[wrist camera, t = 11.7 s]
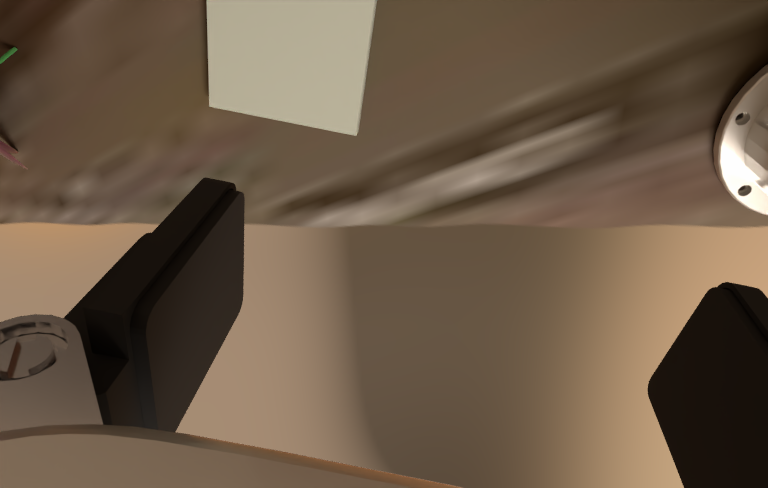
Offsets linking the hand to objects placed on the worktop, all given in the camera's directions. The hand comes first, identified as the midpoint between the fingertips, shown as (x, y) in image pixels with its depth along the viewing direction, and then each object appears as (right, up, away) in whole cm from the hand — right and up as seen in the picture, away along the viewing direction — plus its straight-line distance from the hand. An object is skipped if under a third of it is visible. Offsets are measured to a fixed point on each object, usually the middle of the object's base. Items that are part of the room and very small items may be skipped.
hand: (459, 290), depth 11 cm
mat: (-8, +15, +25) cm, 31 cm away
